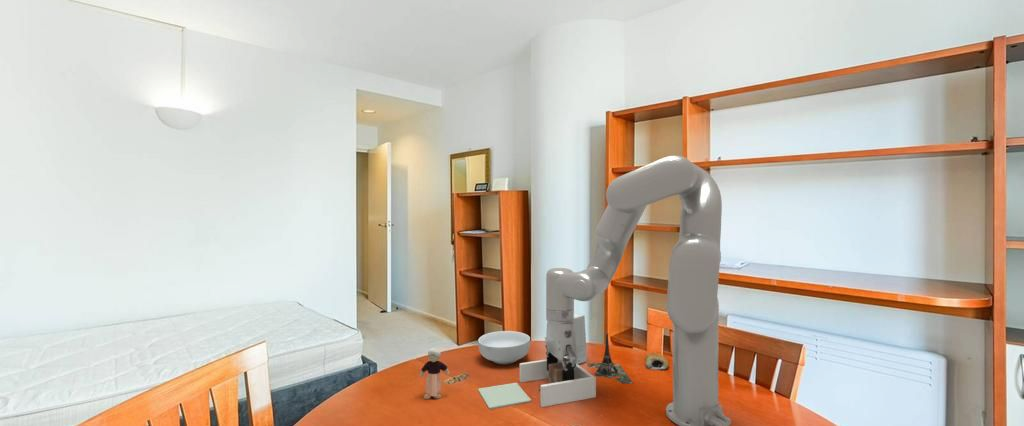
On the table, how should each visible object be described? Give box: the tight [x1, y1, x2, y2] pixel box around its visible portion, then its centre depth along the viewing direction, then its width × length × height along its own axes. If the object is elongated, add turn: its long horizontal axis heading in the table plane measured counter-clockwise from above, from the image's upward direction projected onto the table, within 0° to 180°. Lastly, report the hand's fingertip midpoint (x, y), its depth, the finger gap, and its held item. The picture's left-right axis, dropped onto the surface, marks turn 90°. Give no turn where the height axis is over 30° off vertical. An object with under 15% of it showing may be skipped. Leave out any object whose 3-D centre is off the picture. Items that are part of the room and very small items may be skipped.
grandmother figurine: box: [418, 347, 450, 400], centre depth 104 cm, size 8×4×13 cm, turn 105°
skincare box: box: [565, 312, 588, 365], centre depth 128 cm, size 8×6×15 cm
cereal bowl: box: [477, 330, 531, 365], centre depth 129 cm, size 17×17×7 cm
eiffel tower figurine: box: [587, 332, 634, 385], centre depth 118 cm, size 15×10×13 cm
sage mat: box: [477, 382, 532, 410], centre depth 104 cm, size 11×11×1 cm
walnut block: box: [548, 362, 567, 384], centre depth 108 cm, size 5×5×6 cm
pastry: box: [644, 352, 669, 371], centre depth 124 cm, size 9×7×4 cm
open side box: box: [519, 357, 597, 408], centre depth 108 cm, size 16×15×5 cm
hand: (559, 377), depth 109 cm, fingers open, 9 cm apart
